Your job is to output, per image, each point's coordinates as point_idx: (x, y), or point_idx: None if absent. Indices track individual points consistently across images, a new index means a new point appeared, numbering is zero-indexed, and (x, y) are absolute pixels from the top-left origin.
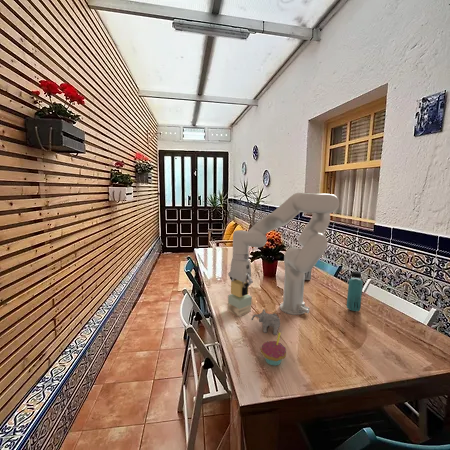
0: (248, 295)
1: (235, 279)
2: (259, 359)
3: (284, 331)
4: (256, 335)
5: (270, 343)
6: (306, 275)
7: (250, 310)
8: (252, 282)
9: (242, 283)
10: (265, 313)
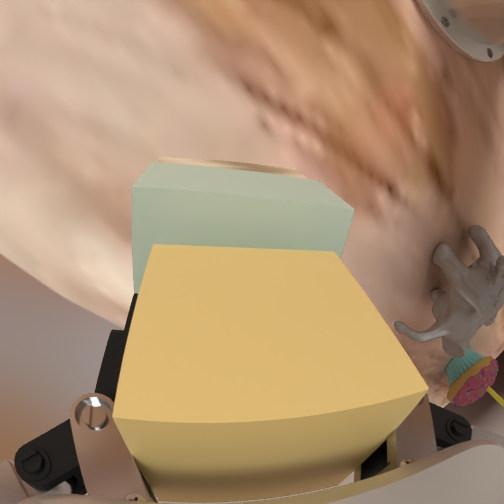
0: (311, 214)
1: (98, 453)
2: (432, 376)
3: (488, 230)
4: (411, 326)
5: (475, 398)
6: None
7: (298, 172)
8: (502, 441)
9: (357, 479)
10: (477, 321)
